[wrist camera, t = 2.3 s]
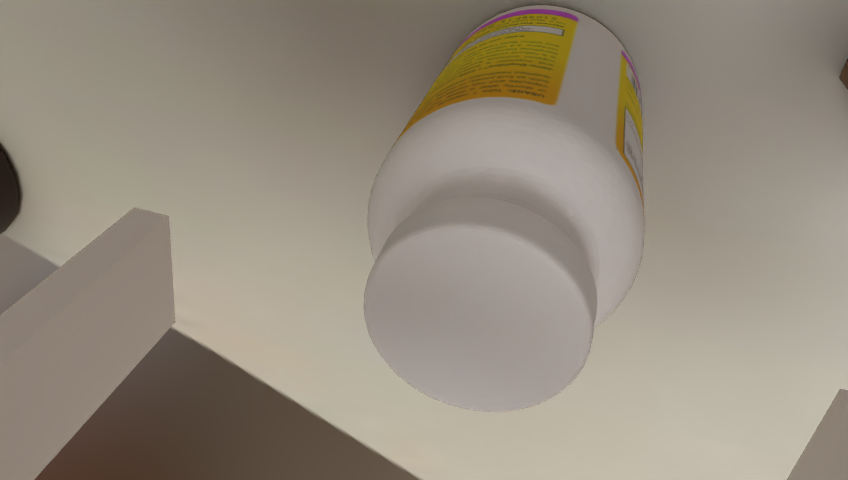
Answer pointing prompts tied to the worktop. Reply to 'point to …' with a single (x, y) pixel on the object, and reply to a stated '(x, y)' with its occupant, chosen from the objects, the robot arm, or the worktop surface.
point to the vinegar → (7, 194)
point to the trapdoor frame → (845, 75)
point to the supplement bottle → (509, 213)
